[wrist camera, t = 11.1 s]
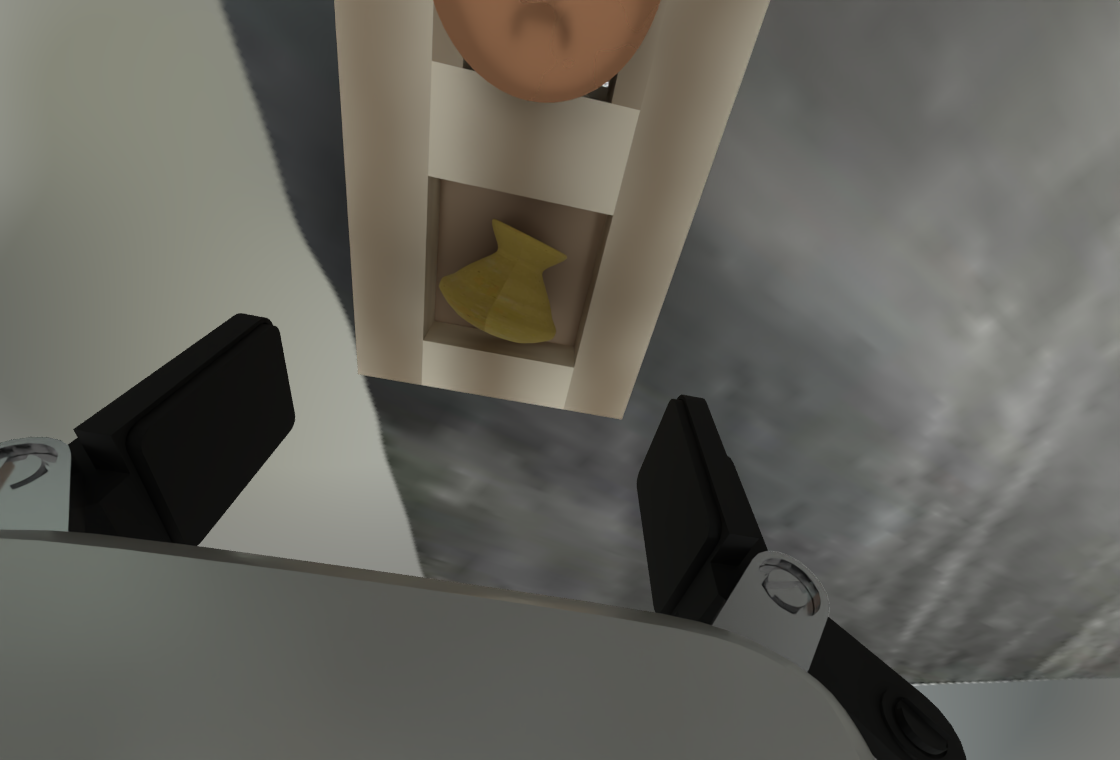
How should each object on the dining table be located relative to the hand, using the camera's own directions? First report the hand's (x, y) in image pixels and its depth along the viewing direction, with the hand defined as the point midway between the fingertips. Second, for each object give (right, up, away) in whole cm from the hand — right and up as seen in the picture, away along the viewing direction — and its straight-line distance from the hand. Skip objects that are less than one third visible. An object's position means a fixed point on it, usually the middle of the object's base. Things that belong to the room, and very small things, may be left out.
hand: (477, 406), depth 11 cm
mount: (+1, +11, +9) cm, 14 cm away
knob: (0, +6, +9) cm, 11 cm away
